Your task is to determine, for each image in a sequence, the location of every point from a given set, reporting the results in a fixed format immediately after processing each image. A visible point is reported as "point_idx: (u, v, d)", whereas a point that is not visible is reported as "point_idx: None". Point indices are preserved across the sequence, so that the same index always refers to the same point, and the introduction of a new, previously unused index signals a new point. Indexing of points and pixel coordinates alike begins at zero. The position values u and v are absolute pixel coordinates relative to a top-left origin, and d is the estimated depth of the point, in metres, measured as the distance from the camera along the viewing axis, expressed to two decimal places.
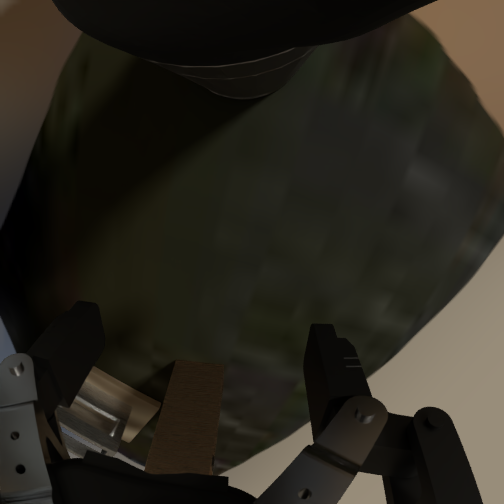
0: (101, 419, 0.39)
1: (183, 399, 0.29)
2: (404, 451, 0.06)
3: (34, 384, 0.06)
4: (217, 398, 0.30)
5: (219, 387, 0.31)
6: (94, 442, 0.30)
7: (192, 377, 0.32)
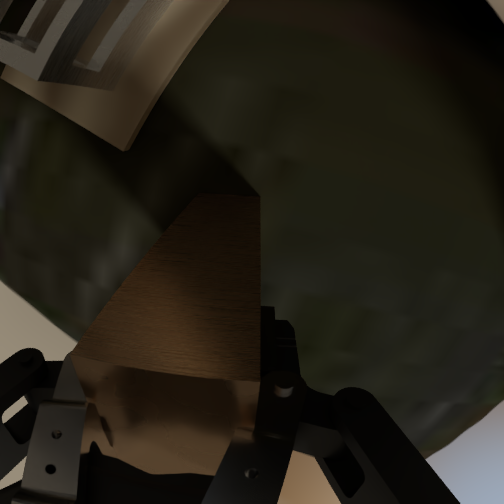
0: None
1: None
2: (324, 429, 0.07)
3: None
4: None
5: None
6: (66, 18, 0.09)
7: None
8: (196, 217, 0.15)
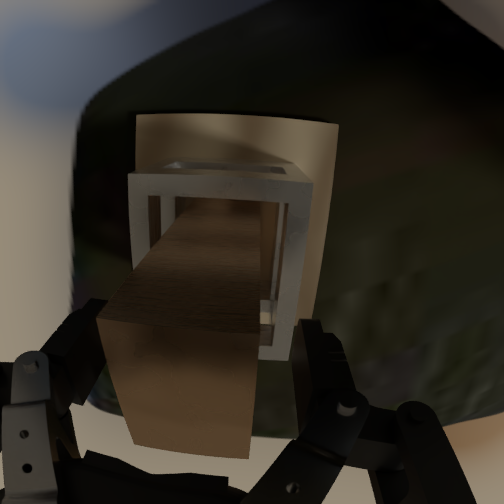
0: None
1: None
2: (387, 444, 0.06)
3: (51, 381, 0.07)
4: None
5: None
6: (289, 317, 0.16)
7: None
8: (201, 210, 0.17)
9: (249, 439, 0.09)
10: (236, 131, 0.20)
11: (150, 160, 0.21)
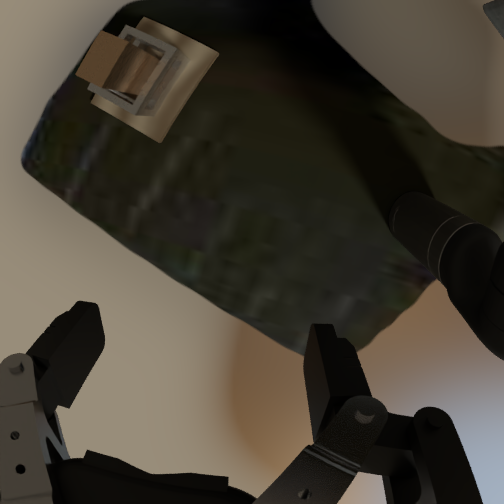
0: None
1: (150, 72, 0.35)
2: (404, 451, 0.06)
3: (34, 384, 0.06)
4: None
5: None
6: (144, 94, 0.34)
7: None
8: None
9: (107, 76, 0.26)
10: (175, 39, 0.38)
11: None
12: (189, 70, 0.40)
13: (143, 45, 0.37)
